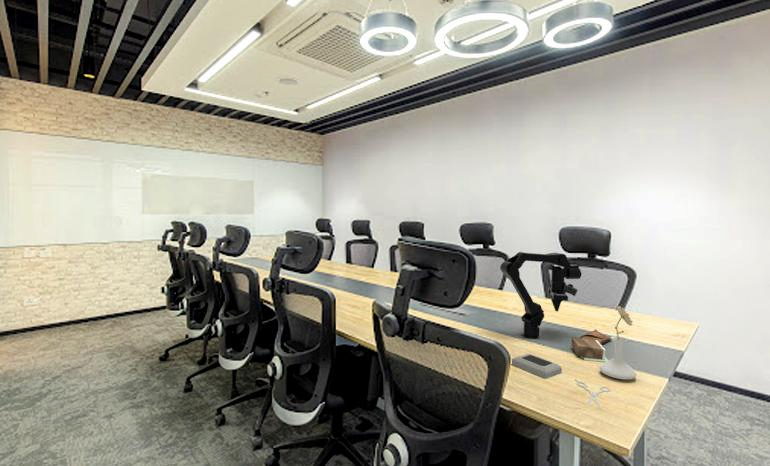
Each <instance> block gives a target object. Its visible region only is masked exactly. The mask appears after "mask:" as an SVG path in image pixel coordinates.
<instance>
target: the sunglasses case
mask: <svg viewBox="0 0 770 466" xmlns="http://www.w3.org/2000/svg"><path fill="white" fill-rule="evenodd" d="M579 338H584V339H591V340H597V341H598V342H599V343H600V344H601V345H602V346H603V345H604V344H606V343H608V342H610V341H611V340H612V339H611V337H609V336H607V335H605V334H603V333H601V332H600V331H598V330H597V329H594V330H592V331H590V332H588V333H586V334H584V335H581V336H580V337H579Z"/></svg>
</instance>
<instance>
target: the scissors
mask: <svg viewBox="0 0 770 466" xmlns="http://www.w3.org/2000/svg"><path fill="white" fill-rule="evenodd" d="M574 381H576V383H577V384H576V385H577V386H578V387H580V388H583V389H584V390H585V391H587V392H588V393H589V395H590V397H589V399H588V401H587V404H586V406H585V407H586V408H587V407H588V406H589V405H591V403H592V402H593V401H594V402H595V404H597V406H598V408H599V409H600V410H602V407H601V405H600V401H599V400H598V397H597V396H598V395H599V394H602V393H609V392H611V391H612V389H611V388H610V387H607V386H600V387H599V390H600V391H596V392H595V391H591V390H589V389H588V388H587V387H589V386H588V384H587V383H586V382H582V381H579V380H578V379H577V378H576V379H574ZM605 389H608V390H605Z"/></svg>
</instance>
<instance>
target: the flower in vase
mask: <svg viewBox="0 0 770 466" xmlns="http://www.w3.org/2000/svg"><path fill="white" fill-rule="evenodd" d="M616 310H617V312H618V314H619V316H620V318H619V319H618V321H617V323H616V325H614V329H615V330H616V335H612V336H610V338H611V340H612V342H613V346H614V355H613V357H612V358H610V359H608V361H606V362H602V363H601V364H600V365H599V368H598V369H599V370H600V371H601V373H603V374H604V375H606V376H608V377H611V378H613V379H614V378H615V379H617V380H633V379H635V378H636V377H637V372H636V371H635V369H634V368H632V366H631V365H629V364H628V363H627V362H626V361H625V360H624V359H623V348H624V344H625V343H626V342H627V341H628V339H627V338H625V337H623V336H619V335H620V334H622V333H625V331H624V330H622V331H619V330H618V325H619V323H620V321H621V320H623V321H624V322H625V323H626V324H627V325H628V326H629V327H630V326H631V327H632V326H634V324H633V320H632V319H631V317H630V315H629V313H627V311H626V310H625V308H624V307H621V306H620V305H619V306H616Z"/></svg>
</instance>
